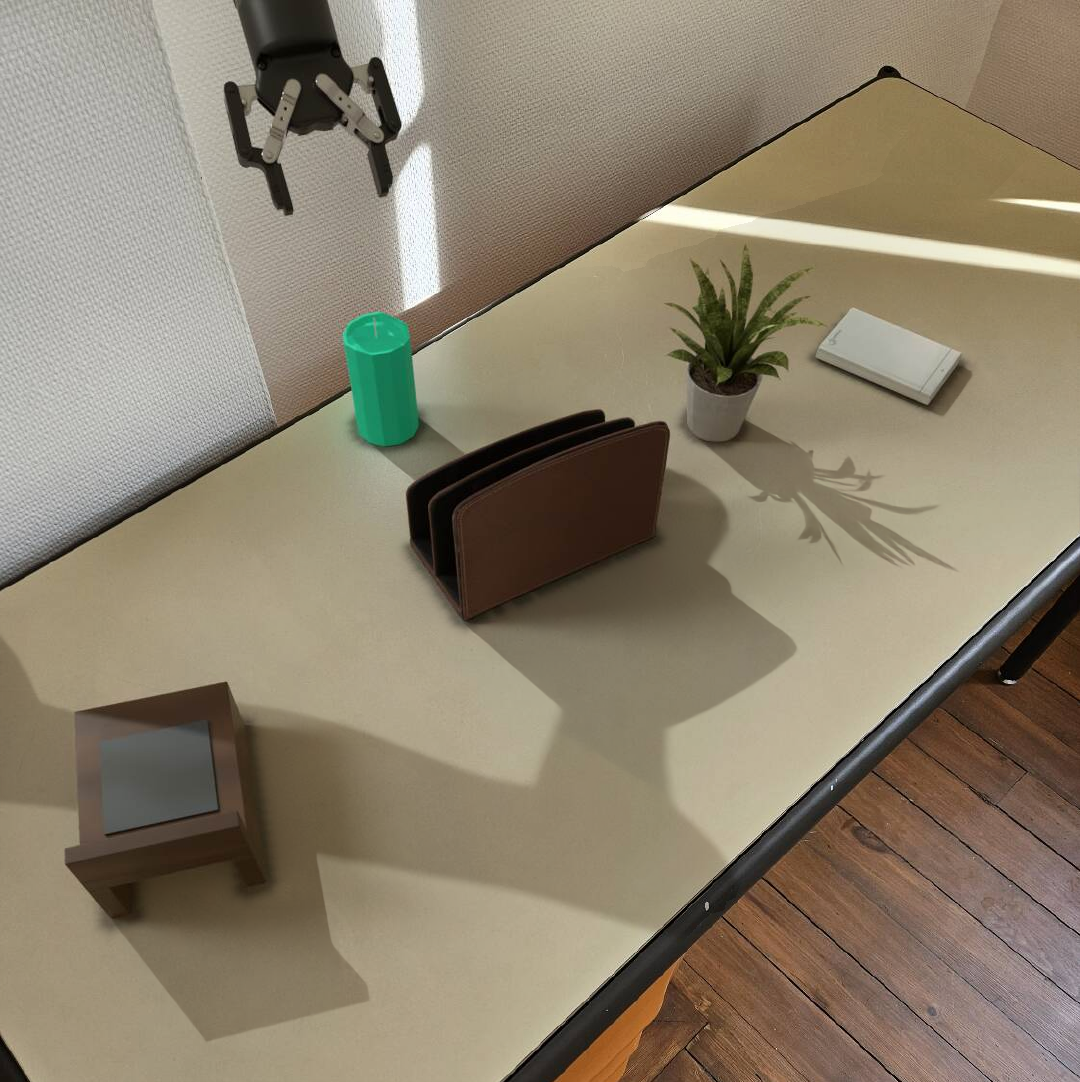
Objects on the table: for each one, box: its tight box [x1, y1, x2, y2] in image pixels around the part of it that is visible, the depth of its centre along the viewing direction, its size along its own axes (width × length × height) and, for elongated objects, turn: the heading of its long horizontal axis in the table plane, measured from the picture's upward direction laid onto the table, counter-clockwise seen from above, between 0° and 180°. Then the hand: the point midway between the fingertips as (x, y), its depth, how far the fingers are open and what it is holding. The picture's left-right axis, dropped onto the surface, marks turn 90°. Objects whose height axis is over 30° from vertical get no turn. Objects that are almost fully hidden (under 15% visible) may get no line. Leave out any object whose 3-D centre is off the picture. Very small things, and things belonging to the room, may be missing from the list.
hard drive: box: [815, 307, 963, 406], centre depth 108 cm, size 2×8×12 cm
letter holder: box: [405, 408, 671, 621], centre depth 89 cm, size 10×20×14 cm, turn 121°
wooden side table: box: [63, 680, 267, 919], centre depth 75 cm, size 14×11×9 cm
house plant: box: [663, 243, 829, 443], centre depth 97 cm, size 14×14×16 cm
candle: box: [342, 311, 420, 447], centre depth 97 cm, size 6×6×12 cm
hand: (337, 204), depth 92 cm, fingers open, 8 cm apart
